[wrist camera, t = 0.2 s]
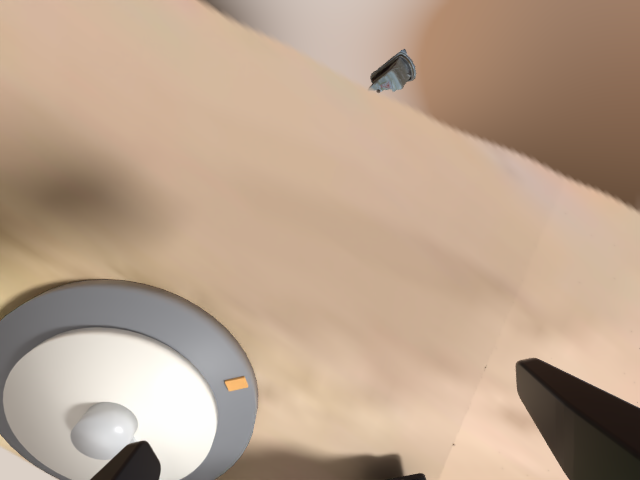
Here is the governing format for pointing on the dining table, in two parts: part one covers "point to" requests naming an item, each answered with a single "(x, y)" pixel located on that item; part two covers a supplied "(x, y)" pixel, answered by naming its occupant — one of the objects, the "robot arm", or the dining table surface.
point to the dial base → (155, 322)
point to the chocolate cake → (393, 73)
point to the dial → (109, 402)
